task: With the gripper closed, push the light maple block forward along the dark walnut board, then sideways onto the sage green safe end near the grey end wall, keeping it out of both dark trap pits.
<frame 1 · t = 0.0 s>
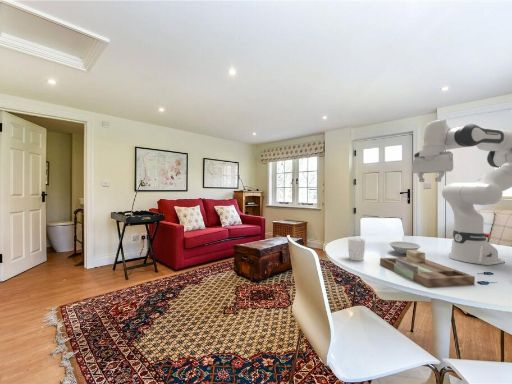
hand: (429, 181, 120), 39 cm above the table, tool pointing down, fingers open, 8 cm apart
white cup: (356, 259, 123), on the table
maple block: (415, 260, 112), point 3 cm above the table, touching trap board
trap board: (422, 273, 103), on the table
dish: (404, 254, 134), on the table
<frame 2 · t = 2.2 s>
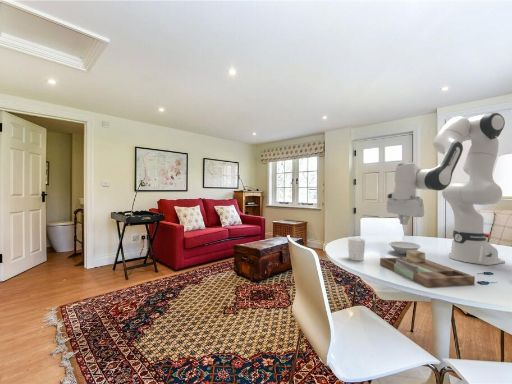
hand: (403, 224, 119), 18 cm above the table, tool pointing down, fingers closed
nothing on the table moved.
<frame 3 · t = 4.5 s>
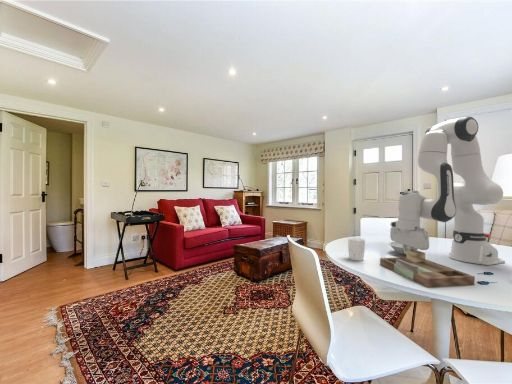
hand: (408, 254, 116), 4 cm above the table, tool pointing down, fingers closed
maple block: (415, 260, 112), point 3 cm above the table, touching gripper, trap board
everything else where it was.
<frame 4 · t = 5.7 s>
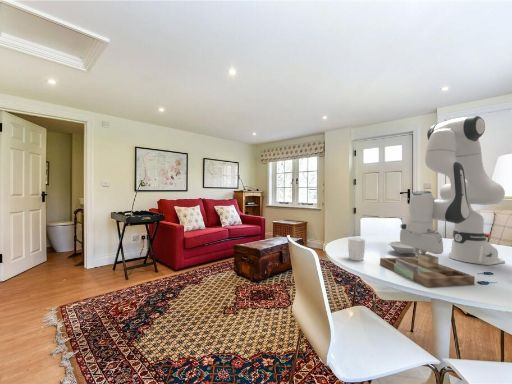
hand: (419, 258, 109), 4 cm above the table, tool pointing down, fingers closed
maple block: (427, 265, 105), point 3 cm above the table, touching gripper, trap board
everything else where it was.
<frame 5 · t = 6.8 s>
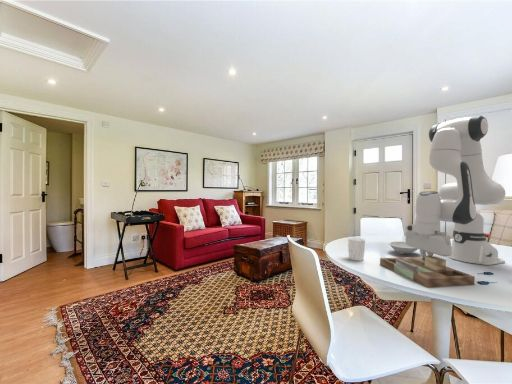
hand: (426, 261, 106), 4 cm above the table, tool pointing down, fingers closed
maple block: (435, 267, 102), point 3 cm above the table, touching gripper, trap board
everything else where it was.
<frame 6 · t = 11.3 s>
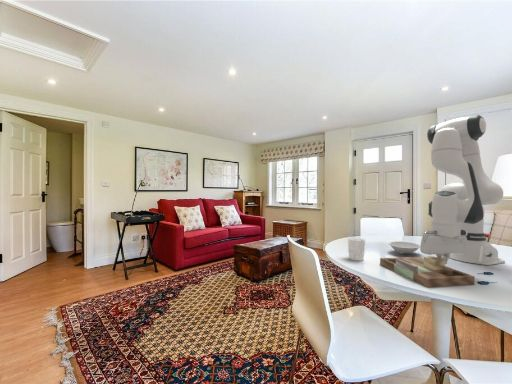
hand: (442, 263, 102), 4 cm above the table, tool pointing down, fingers closed
nothing on the table moved.
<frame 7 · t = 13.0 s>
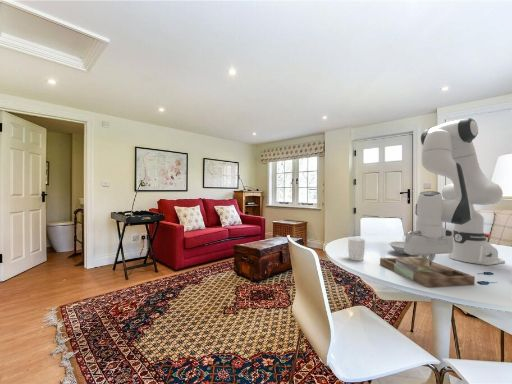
hand: (427, 264, 101), 4 cm above the table, tool pointing down, fingers closed
maple block: (418, 268, 101), point 3 cm above the table, touching gripper, trap board
everything else where it was.
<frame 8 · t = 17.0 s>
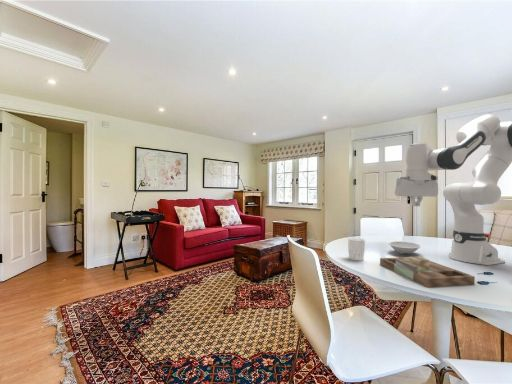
hand: (415, 206, 117), 27 cm above the table, tool pointing down, fingers closed
maple block: (418, 268, 101), point 3 cm above the table, touching trap board
everything else where it was.
at the end: maple block inside the target area (1.5 cm from its centre), point 3.0 cm above the table; maple block tilted 0° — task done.
